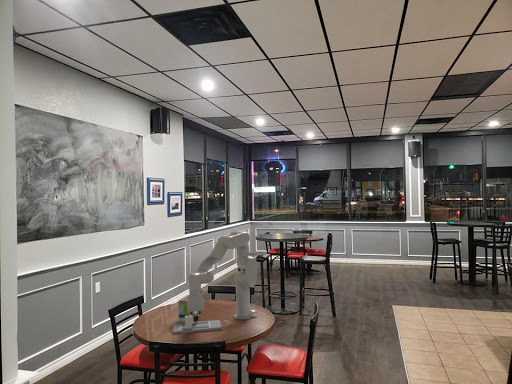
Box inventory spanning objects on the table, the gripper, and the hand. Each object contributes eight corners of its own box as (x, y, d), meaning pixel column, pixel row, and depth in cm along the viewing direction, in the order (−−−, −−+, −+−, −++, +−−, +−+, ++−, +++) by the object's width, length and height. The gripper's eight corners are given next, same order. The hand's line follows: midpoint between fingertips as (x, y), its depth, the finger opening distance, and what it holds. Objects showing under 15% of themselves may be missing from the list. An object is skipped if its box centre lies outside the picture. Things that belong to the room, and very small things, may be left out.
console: (219, 322, 235) (219, 319, 235) (221, 329, 221) (221, 326, 221) (173, 326, 229) (173, 323, 229) (172, 334, 215) (172, 331, 215)
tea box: (192, 323, 234) (191, 301, 234) (178, 322, 236) (177, 300, 236) (200, 315, 249) (199, 295, 249) (186, 315, 251) (186, 294, 251)
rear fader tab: (197, 321, 230) (196, 310, 231) (197, 323, 227) (197, 312, 228) (190, 322, 230) (190, 311, 230) (191, 324, 227) (190, 312, 227)
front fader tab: (191, 326, 222) (191, 314, 222) (191, 328, 219) (191, 316, 219) (185, 327, 221) (185, 315, 221) (185, 328, 218) (185, 317, 218)
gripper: (206, 290, 226) (207, 319, 226) (183, 292, 224) (183, 321, 223) (207, 293, 219) (208, 323, 219) (183, 295, 216) (183, 325, 216)
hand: (195, 322), depth 221 cm, fingers closed
